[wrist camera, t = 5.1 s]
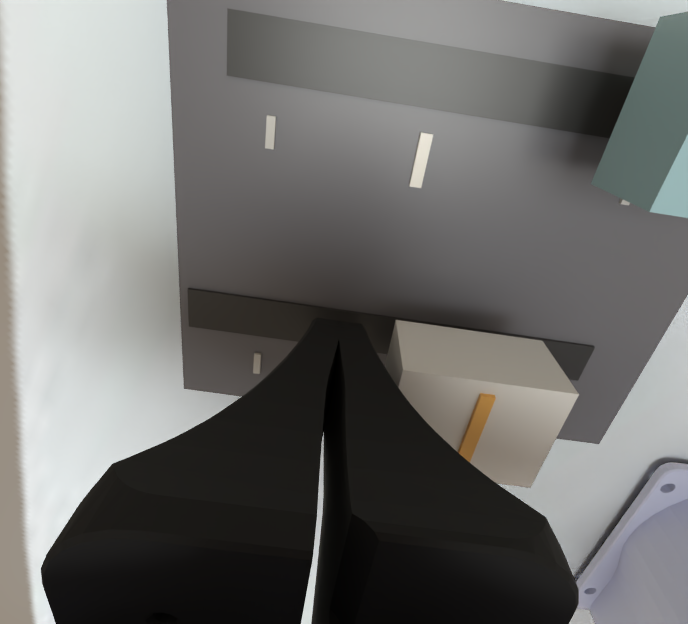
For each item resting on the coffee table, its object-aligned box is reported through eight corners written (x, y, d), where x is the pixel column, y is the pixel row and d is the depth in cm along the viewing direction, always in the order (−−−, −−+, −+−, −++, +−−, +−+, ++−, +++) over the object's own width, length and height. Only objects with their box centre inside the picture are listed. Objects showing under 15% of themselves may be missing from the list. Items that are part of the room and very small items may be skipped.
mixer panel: (578, 412, 15) (600, 446, 14) (199, 360, 15) (183, 390, 14) (768, 59, 10) (833, 57, 9) (191, -41, 10) (162, -60, 8)
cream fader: (493, 397, 13) (531, 490, 10) (373, 381, 13) (377, 471, 10) (526, 316, 12) (581, 397, 9) (392, 296, 11) (403, 373, 8)
